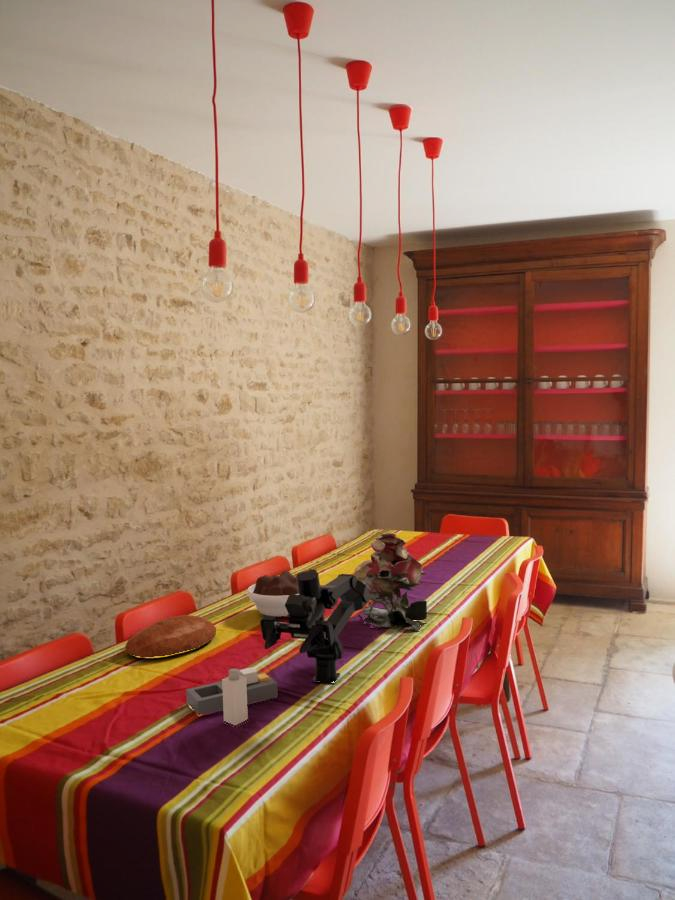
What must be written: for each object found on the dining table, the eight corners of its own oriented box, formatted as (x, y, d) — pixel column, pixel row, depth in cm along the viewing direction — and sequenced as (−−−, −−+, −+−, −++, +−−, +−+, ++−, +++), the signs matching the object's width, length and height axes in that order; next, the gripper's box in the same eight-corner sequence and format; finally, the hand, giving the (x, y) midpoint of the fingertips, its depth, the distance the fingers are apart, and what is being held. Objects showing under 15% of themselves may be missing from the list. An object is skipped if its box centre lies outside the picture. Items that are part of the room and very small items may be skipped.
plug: (236, 716, 177) (234, 666, 176) (247, 721, 174) (245, 669, 174) (223, 722, 174) (221, 671, 173) (235, 727, 171) (233, 674, 171)
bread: (108, 657, 224) (107, 628, 223) (179, 628, 251) (178, 602, 251) (164, 668, 213) (163, 638, 212) (232, 636, 240) (231, 609, 240)
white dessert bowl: (316, 622, 251) (314, 579, 250) (243, 624, 252) (241, 581, 251) (319, 603, 276) (318, 563, 275) (253, 604, 277) (251, 565, 276)
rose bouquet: (426, 607, 266) (424, 525, 264) (428, 632, 237) (426, 540, 235) (355, 607, 269) (353, 526, 267) (349, 632, 240) (346, 541, 238)
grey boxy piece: (263, 686, 195) (262, 661, 195) (277, 698, 188) (276, 671, 187) (186, 704, 185) (185, 677, 185) (198, 717, 177) (197, 689, 177)
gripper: (270, 585, 190) (242, 616, 176) (338, 590, 183) (314, 622, 169) (277, 623, 193) (250, 656, 179) (343, 629, 186) (320, 664, 172)
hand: (282, 649), depth 175 cm, fingers open, 9 cm apart
